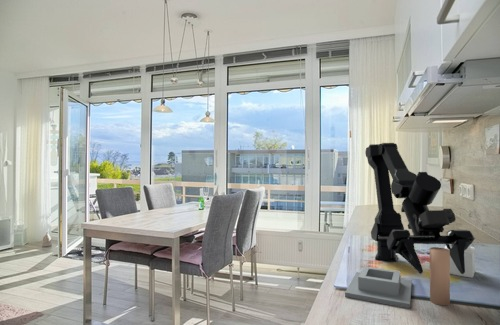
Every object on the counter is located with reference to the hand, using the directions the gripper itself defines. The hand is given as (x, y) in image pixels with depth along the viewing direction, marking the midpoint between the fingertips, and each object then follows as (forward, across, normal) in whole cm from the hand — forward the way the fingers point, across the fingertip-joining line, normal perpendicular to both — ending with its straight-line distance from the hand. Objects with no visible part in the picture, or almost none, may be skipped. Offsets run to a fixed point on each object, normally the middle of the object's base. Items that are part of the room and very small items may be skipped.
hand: (442, 273), depth 73 cm
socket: (0, -11, +10) cm, 15 cm away
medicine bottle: (-10, +16, +20) cm, 28 cm away
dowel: (+4, 0, +6) cm, 7 cm away
